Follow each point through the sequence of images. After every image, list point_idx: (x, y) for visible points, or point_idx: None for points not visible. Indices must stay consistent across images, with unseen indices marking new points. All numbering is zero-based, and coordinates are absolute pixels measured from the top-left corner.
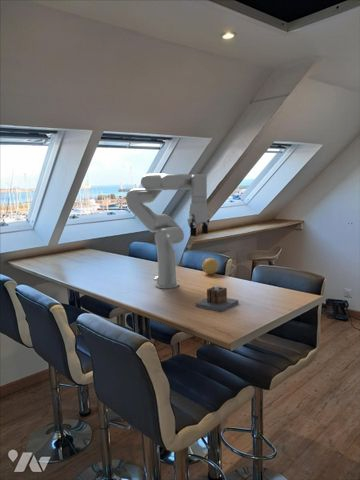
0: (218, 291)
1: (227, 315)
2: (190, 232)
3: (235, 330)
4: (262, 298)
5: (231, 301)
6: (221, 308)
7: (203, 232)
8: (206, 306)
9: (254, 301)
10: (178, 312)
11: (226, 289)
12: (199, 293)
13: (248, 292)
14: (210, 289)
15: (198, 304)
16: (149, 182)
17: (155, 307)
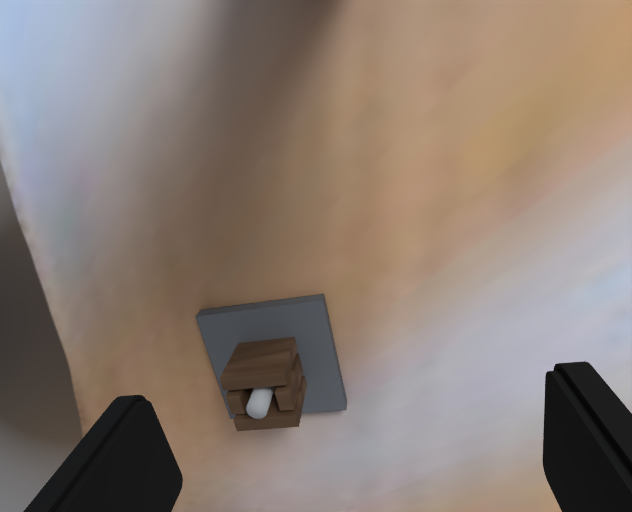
0: (236, 428)
1: (226, 434)
2: (82, 445)
3: None
4: (461, 433)
5: (314, 400)
6: (230, 415)
7: (550, 415)
8: (213, 360)
9: (407, 429)
10: (114, 307)
11: (298, 421)
12: (339, 195)
13: (506, 356)
14: (231, 389)
15: (200, 329)
16: None
17: (65, 199)
